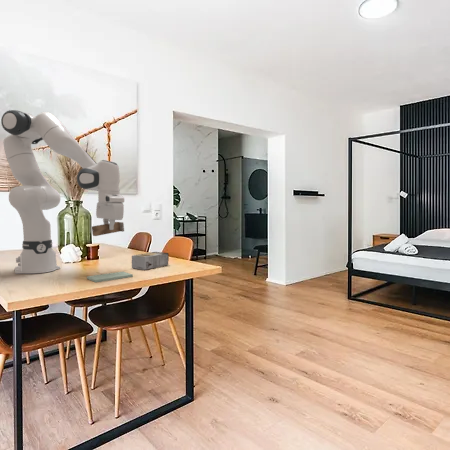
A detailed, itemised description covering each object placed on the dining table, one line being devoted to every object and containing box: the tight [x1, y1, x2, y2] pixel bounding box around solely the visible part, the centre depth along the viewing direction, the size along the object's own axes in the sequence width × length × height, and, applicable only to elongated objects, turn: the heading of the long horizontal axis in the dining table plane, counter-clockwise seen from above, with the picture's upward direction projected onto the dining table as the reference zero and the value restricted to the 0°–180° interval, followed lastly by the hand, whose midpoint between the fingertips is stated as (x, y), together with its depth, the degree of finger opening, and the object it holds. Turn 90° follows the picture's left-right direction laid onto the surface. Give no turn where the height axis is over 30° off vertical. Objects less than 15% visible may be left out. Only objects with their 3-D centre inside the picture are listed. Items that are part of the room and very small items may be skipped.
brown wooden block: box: [91, 221, 125, 237], centre depth 156 cm, size 13×6×4 cm, turn 137°
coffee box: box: [131, 251, 170, 271], centre depth 175 cm, size 9×6×16 cm
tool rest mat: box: [86, 271, 134, 283], centre depth 149 cm, size 9×16×1 cm, turn 132°
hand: (109, 229), depth 157 cm, fingers closed on brown wooden block, 3 cm apart
